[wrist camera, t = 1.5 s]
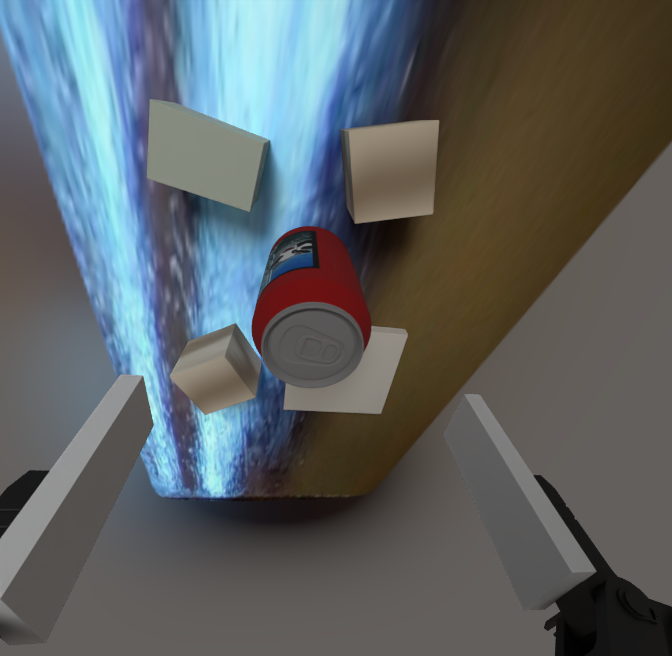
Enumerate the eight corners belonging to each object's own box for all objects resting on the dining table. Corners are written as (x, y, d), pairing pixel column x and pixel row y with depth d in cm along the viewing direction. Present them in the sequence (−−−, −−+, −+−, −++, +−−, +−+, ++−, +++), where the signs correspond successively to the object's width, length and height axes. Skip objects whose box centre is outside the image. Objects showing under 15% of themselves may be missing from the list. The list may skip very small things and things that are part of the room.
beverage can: (281, 210, 24) (264, 274, 14) (362, 239, 25) (400, 315, 15) (260, 286, 27) (234, 383, 17) (333, 308, 29) (348, 407, 19)
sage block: (176, 102, 20) (150, 98, 16) (270, 139, 21) (263, 143, 18) (170, 169, 22) (147, 178, 18) (257, 199, 23) (249, 211, 20)
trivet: (292, 318, 29) (291, 324, 28) (405, 329, 31) (407, 334, 30) (283, 402, 35) (283, 409, 34) (379, 407, 37) (380, 413, 36)
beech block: (340, 129, 21) (348, 131, 17) (413, 120, 21) (439, 120, 17) (346, 206, 24) (355, 223, 20) (410, 198, 24) (432, 213, 20)
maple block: (188, 340, 29) (169, 376, 25) (235, 322, 29) (224, 356, 25) (218, 377, 32) (205, 415, 28) (261, 361, 32) (255, 397, 27)
